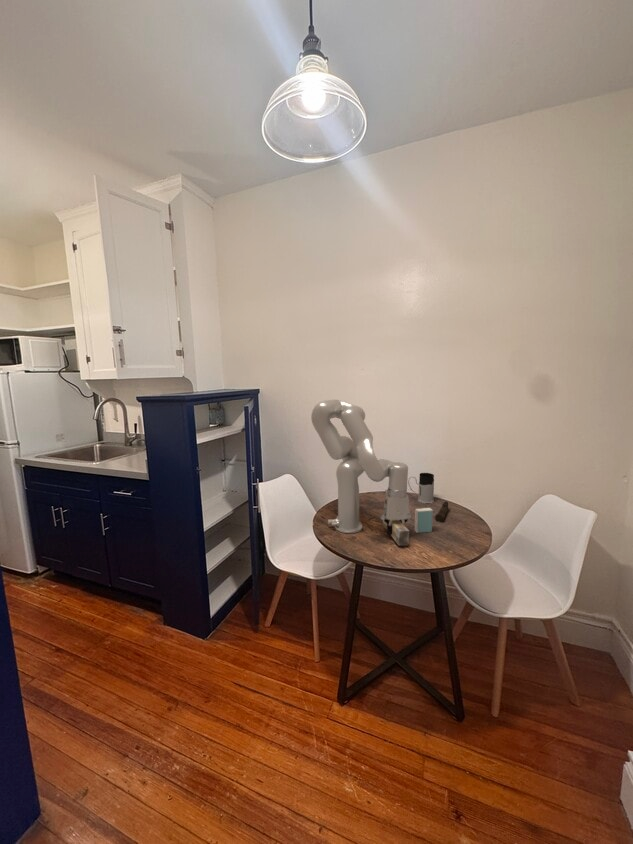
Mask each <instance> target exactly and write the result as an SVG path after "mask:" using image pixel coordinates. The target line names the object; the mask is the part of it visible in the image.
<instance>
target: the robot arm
mask: <svg viewBox="0 0 633 844" xmlns="http://www.w3.org/2000/svg"><path fill="white" fill-rule="evenodd" d="M331 419H340V421H341V423H342V425H343V426H344V428H345V430H346V431H347V433H348V435H349V436H346V435H341V434H340V433H339V431H338V428H337V427H336V425H334V424H333V422H331ZM365 419H366V413H365V410H364V409H363V408H362V407H360V406H358V405H354V404H353V403H348V402H346V401H342V400H338V399H328V400H323V401H320V402H318V403H317V404H316V405H315V406H314V407H313V409H312V412H311V424H312V426H313V427H314V430H315V431H316V433H317V434H318V436H319V438H320V441H322V444H323V446H324V447H325V449H326V451H327V453H328V456H329V457H330V458H331V459H333V460H335V461H337V460H338V461H339V460H341V459H342V461H341V462H340V463H339V465H338V466H337V468H336V481H337V495H338V496H337V516H336V518H334V519H327V524H328V525H331V526H333V527H334V529H335V530H336V531H338V532H340V533H343V534H356V533H359V532H361V531H362V529H363V524H362V523H361V522H360V485H359V477H360V476H361V475H362V474H364V473H365V474H366V476H367V477H368V478H369V479H370V480H371V481H373V482H375V483H379V482H382V481H383V480H385V478H388V485H387V486H388V487H387V489H385V490H384V493H385V494H386V496H385V500H384V502H383V503H384V506H383V512H382V513H381V514H380V516H379V519H380V520H381V521H382V522H383V521H385V522H386V523H387V530H386V532H387V533H388V534H389V536H391V535H392V526H391V524H392V520H400V522H401V523H402V524H403V525H404V526H405V524H406V523H407V522H408V521H409V520H411V519H412V514H411V512H410V510H411V509H410V499H409V495H408V494H407V493H408V491H407V490H408V480H409V478H408V475H409V466H408V465H407V464H406V463H404V462H397V461H396V462H395V461H391V460H388V459H384V458H383V459H382V458H380V459H378V458H377V455H376V454H375V452H374V447H373V445H374V443H373V440H374V439H373V438H374V436H373V434H372V432H371V431H370V430H369V427H368V426H367V425H366V422H365ZM385 516H386V518H387V519H386V518H385Z"/></svg>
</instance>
